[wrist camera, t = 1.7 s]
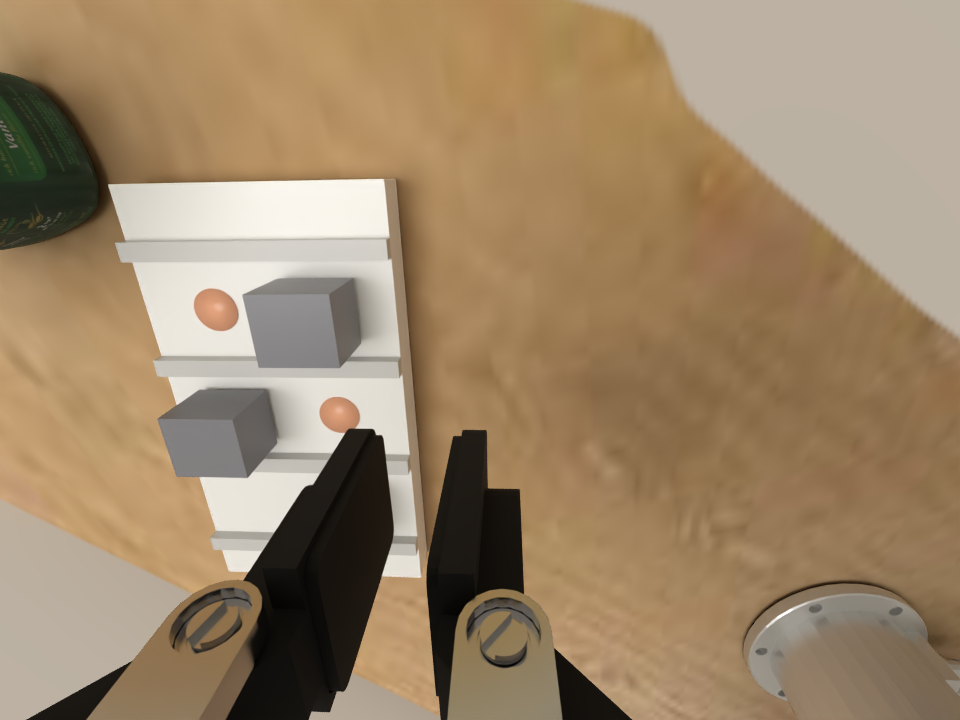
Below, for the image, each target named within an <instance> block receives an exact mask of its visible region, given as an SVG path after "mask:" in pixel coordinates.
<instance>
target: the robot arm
mask: <svg viewBox="0 0 960 720" xmlns="http://www.w3.org/2000/svg"><path fill="white" fill-rule="evenodd" d="M393 536H394V522H393V514H392V505H391V497H390V488H389V480H388V471H387V463H386V454H385V446H384V439H383V436H382V435H376V433H375V430H374V429H355V428H350V429H348V430H347V431H346V433H345V434H344V436H343V437H342V439H341V441H340V442H339V444H338V445H337V447H336V449H335V450H334V452H333V453H332V455H331V457H330V458H329V460H328V461H327V463H326V465H325V466H324V468H323V469H322V471H321V473H320V474H319V476H318V477H317V479H316V481H315V482H314V484H313V485H308V486H305V487H304V489H303V490H302V491H301V492H300V494H299V495H298V497H297V498H296V500H295V502H294V503H293V505H292V506H291V508H290V509H289V511H288V512H287V514H286V515H285V517H284V518H283V520H282V522H281V523H280V525H279V526H278V528H277V529H276V531H275V532H274V534H273V535H272V537H271V538H270V540H269V542H268V543H267V545H266V546H265V548H264V549H263V551H262V552H261V554H260V555H259V557H258V559H257V560H256V562H255V563H254V565H253V566H252V568H251V569H250V571H249V572H248V574H247V575H246V577H245V579H244V580H243V581H241V580H230V581H223V582H219V583H216V584H213V585H209V586H207V587H205V588H204V589H202V590H200V591H198V592H196V593H194V594H192V595H191V596H190V597H188V598H187V599H186V600H184V601H183V602H182V603H180V604H179V605H178V606H177V607H176V608H175V609H174V610H173V612H171V614H170V615H169V616H168V617H167V618H166V619H165V621H164V622H163V623H162V624H161V626H160V627H159V628H158V629H157V631H156V632H155V633H154V635H153V636H152V637H151V638H150V640H149V641H148V642H147V643H146V645H145V646H144V647H143V649H142V650H141V651H140V652H139V654H138V655H137V656H136V657H135V659H134V660H133V661H131V662H129V663H128V664H126V665H124V666H122V667H120V668H119V669H117V670H115V671H113V672H111V673H110V674H108V675H106V676H104V677H102V678H101V679H99V680H97V681H95V682H93V683H92V684H90V685H88V686H86V687H84V688H83V689H81V690H79V691H78V692H75V693H74V694H72V695H70V696H68V697H67V698H65V699H63V700H61V701H59V702H57V703H56V704H54V705H52V706H50V707H49V708H47V709H45V710H43V711H41V712H39V713H38V714H36V715H34V716H32V717H30V718H29V719H27V720H309V717H310V714H311V711H314V712H316V711H317V712H330V710H331V707H332V704H333V701H334V698H335V695H336V692H337V691H341V692H343V691H345V689H346V687H347V685H348V683H349V680H350V676H351V673H352V670H353V667H354V664H355V660H356V657H357V654H358V651H359V648H360V644H361V641H362V638H363V635H364V632H365V628H366V625H367V622H368V619H369V616H370V612H371V609H372V606H373V603H374V599H375V596H376V593H377V590H378V587H379V583H380V580H381V577H382V574H383V571H384V567H385V564H386V561H387V558H388V555H389V551H390V548H391V545H392V541H393ZM426 583H427V597H428V608H429V619H430V631H431V642H432V654H433V665H434V677H435V688H436V696H439V704H440V716H441V720H632V719H631V718H630V717H629V716H628V715H626V714H625V713H624V712H623V711H622V710H621V709H620V708H619V707H618V706H617V705H616V704H614V703H613V702H612V701H611V700H610V699H609V698H608V697H607V696H606V695H605V694H604V693H603V692H601V691H600V690H599V689H598V688H597V687H596V686H595V685H594V684H593V683H592V682H591V681H589V680H588V679H587V678H586V677H585V676H584V675H583V674H582V673H581V672H580V671H579V670H578V669H576V668H575V667H574V666H573V665H572V664H571V663H570V662H569V661H568V660H567V659H566V658H564V657H563V656H562V655H561V654H560V653H559V652H558V651H557V650H556V649H555V648H554V645H553V636H552V630H551V626H550V623H549V619H548V617H547V615H546V614H545V612H544V611H543V609H542V608H541V606H540V605H539V604H538V603H536V602H535V601H534V600H533V599H532V598H530V597H529V596H527V595H525V594H524V581H523V557H522V532H521V507H520V489H488V479H487V431H486V430H463V431H462V436H453V440H452V445H451V450H450V454H449V459H448V464H447V469H446V474H445V479H444V484H443V489H442V493H441V498H440V503H439V508H438V513H437V518H436V523H435V528H434V532H433V537H432V542H431V547H430V552H429V557H428V564H427V581H426ZM743 654H744V658H745V663H746V665H747V666H748V668H749V671H750V673H751V675H752V677H753V678H754V680H755V681H756V682H757V684H758V685H759V686H760V687H761V688H763V689H764V690H765V691H766V692H768V693H769V694H771V695H773V696H775V697H777V698H779V699H782V700H785V701H788V702H789V703H790V705H791V707H792V709H793V711H794V713H795V715H796V716H797V718H798V720H960V659H953V660H945V659H944V658H942V657H941V656H939V655H938V653H937V652H936V651H935V650H934V649H933V648H932V647H931V646H930V645H929V643H928V632H927V629H926V626H925V623H924V621H923V620H922V619H921V617H920V616H919V615H918V613H917V612H916V611H915V610H914V609H913V608H912V607H911V606H910V605H909V604H908V603H907V602H906V601H905V600H904V599H903V598H901V597H899V596H898V595H896V594H894V593H892V592H890V591H887V590H885V589H882V588H879V587H874V586H869V585H863V584H833V585H824V586H820V587H815V588H811V589H807V590H804V591H802V592H799V593H796V594H793V595H791V596H789V597H787V598H785V599H783V600H781V601H779V602H777V603H776V604H775V605H773V606H772V607H770V608H769V609H768V610H766V611H765V612H764V613H763V614H762V615H761V616H760V617H759V618H758V619H757V620H756V621H755V622H754V624H753V625H752V627H751V628H750V630H749V631H748V634H747V636H746V639H745V642H744V650H743Z"/></svg>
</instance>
